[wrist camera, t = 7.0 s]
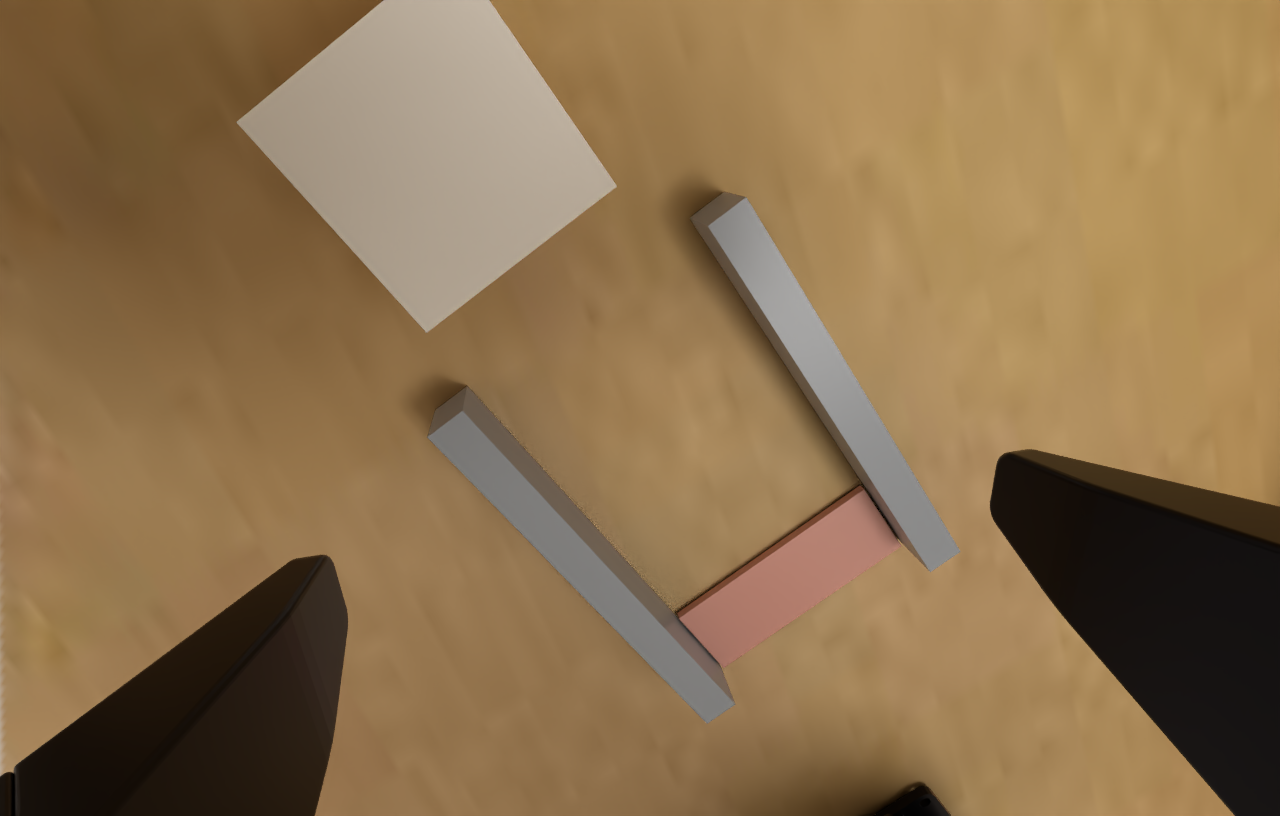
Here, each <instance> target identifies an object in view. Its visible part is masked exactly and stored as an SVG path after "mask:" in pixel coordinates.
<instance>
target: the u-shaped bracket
mask: <svg viewBox="0 0 1280 816" xmlns="http://www.w3.org/2000/svg"><path fill="white" fill-rule="evenodd" d="M690 220H691V221H692V223H693V224H694V226H695V227H696V229H697V230H698V232H699V233H700V235H701V236H702V238H703V240H704V241H705V243H706V244H707V246H708V247H709V249H710V250H711V252H712V253H713V255H714V256H715V258H716V259H717V261H718V263H719V264H720V266H721V267H722V269H723V270H724V272H725V273H726V275H727V276H728V278H729V279H730V281H731V282H732V284H733V286H734V287H735V289H736V290H737V292H738V293H739V295H740V296H741V298H742V299H743V301H744V302H745V304H746V306H747V307H748V309H749V310H750V312H751V313H752V315H753V316H754V318H755V319H756V321H757V322H758V324H759V325H760V327H761V329H762V330H763V332H764V333H765V335H766V336H767V338H768V339H769V341H770V342H771V344H772V345H773V347H774V348H775V350H776V352H777V353H778V355H779V356H780V358H781V359H782V361H783V362H784V364H785V365H786V367H787V368H788V370H789V371H790V373H791V375H792V376H793V378H794V379H795V381H796V382H797V384H798V385H799V387H800V388H801V390H802V391H803V393H804V394H805V396H806V398H807V399H808V401H809V402H810V404H811V405H812V407H813V408H814V410H815V411H816V413H817V414H818V416H819V418H820V419H821V421H822V422H823V424H824V425H825V427H826V428H827V430H828V431H829V433H830V434H831V436H832V437H833V439H834V441H835V442H836V444H837V445H838V447H839V448H840V450H841V451H842V453H843V454H844V456H845V457H846V459H847V460H848V462H849V464H850V465H851V467H852V468H853V470H854V471H855V473H856V474H857V476H858V477H859V479H860V480H861V482H862V483H863V485H864V487H865V488H866V490H867V491H868V493H869V494H870V496H871V497H872V499H873V500H874V502H875V503H876V505H877V506H878V508H879V510H880V511H881V513H882V514H883V516H884V517H885V519H886V520H887V522H888V523H889V525H890V526H891V528H892V530H893V531H894V533H895V534H896V536H897V537H898V539H899V540H900V541H901V542H902V543H903V544H904V545H905V546H906V547H907V548H908V550H909V551H910V552H911V553H912V554H913V555H914V556H915V557H916V558H917V559H918V560H919V561H920V562H921V563H922V564H923V565H924V566H925V567H926V568H927V569H928V570H929V571H930V572H931V571H933V570H934V569H936V568H937V567H939V566H940V565H941V564H943V563H944V562H946V561H947V560H949V559H950V558H952V557H953V556H955V555H956V554H958V553H959V552H960V550H959V548H958V547H957V545H956V543H955V542H954V540H953V538H952V537H951V535H950V533H949V532H948V530H947V528H946V527H945V525H944V523H943V522H942V520H941V519H940V517H939V515H938V514H937V512H936V510H935V509H934V507H933V505H932V504H931V502H930V500H929V499H928V497H927V495H926V494H925V492H924V490H923V489H922V487H921V485H920V484H919V482H918V480H917V479H916V477H915V476H914V474H913V472H912V471H911V469H910V467H909V466H908V464H907V462H906V461H905V459H904V457H903V456H902V454H901V452H900V451H899V449H898V447H897V446H896V444H895V442H894V441H893V439H892V437H891V436H890V434H889V432H888V431H887V429H886V428H885V426H884V424H883V423H882V421H881V419H880V418H879V416H878V414H877V413H876V411H875V409H874V408H873V406H872V404H871V403H870V401H869V399H868V398H867V396H866V394H865V393H864V391H863V389H862V388H861V386H860V384H859V383H858V381H857V380H856V378H855V376H854V375H853V373H852V371H851V370H850V368H849V366H848V365H847V363H846V361H845V360H844V358H843V356H842V355H841V353H840V351H839V350H838V348H837V346H836V345H835V343H834V341H833V340H832V338H831V337H830V335H829V333H828V332H827V330H826V328H825V327H824V325H823V323H822V322H821V320H820V318H819V317H818V315H817V313H816V312H815V310H814V308H813V307H812V305H811V303H810V302H809V300H808V298H807V297H806V295H805V293H804V292H803V290H802V289H801V287H800V285H799V284H798V282H797V280H796V279H795V277H794V275H793V274H792V272H791V270H790V269H789V267H788V265H787V264H786V262H785V260H784V259H783V257H782V255H781V254H780V252H779V250H778V249H777V247H776V245H775V244H774V242H773V241H772V239H771V237H770V236H769V234H768V232H767V231H766V229H765V227H764V226H763V224H762V222H761V221H760V219H759V217H758V216H757V214H756V212H755V211H754V209H753V207H752V206H751V204H750V202H749V201H748V199H747V198H746V197H743V196H739V195H735V194H731V193H727V192H723V193H722V194H720V195H719V196H718V197H716V198H715V199H714V200H712V201H711V202H710V203H709V204H707V205H706V206H705V207H703V208H702V209H701V210H699V211H698V212H697V213H695V214H694V215H693V216H691V217H690ZM427 438H428V439H429V440H430V441H431V442H432V443H433V444H434V445H435V446H436V447H437V448H438V449H439V450H440V451H441V452H442V453H443V454H444V455H445V456H446V457H447V458H448V459H449V460H450V461H451V462H452V463H453V464H454V465H455V466H456V467H457V468H458V469H459V470H460V471H461V472H462V473H463V474H464V475H465V476H466V477H467V478H468V480H469V481H470V482H471V483H472V484H473V485H474V486H475V487H476V488H477V489H478V490H479V491H480V492H481V493H482V494H483V495H484V496H485V497H486V498H487V499H488V500H489V501H490V502H491V503H492V504H493V505H494V506H495V507H496V508H497V509H498V510H499V511H500V512H501V513H502V514H503V515H504V516H505V517H506V518H507V519H508V520H509V521H510V522H511V524H512V525H513V526H514V527H515V528H516V529H517V530H518V531H519V532H520V533H521V534H522V535H523V536H524V537H525V538H526V539H527V540H528V541H529V542H530V543H531V544H532V545H533V546H534V547H535V548H536V549H537V550H538V551H539V552H540V553H541V554H542V555H543V556H544V557H545V558H546V559H547V560H548V561H549V562H550V563H551V564H552V565H553V566H554V568H555V569H556V570H557V571H558V572H559V573H560V574H561V575H562V576H563V577H564V578H565V579H566V580H567V581H568V582H569V583H570V584H571V585H572V586H573V587H574V588H575V589H576V590H577V591H578V592H579V593H580V594H581V595H582V596H583V597H584V598H585V599H586V600H587V601H588V602H589V603H590V604H591V605H592V606H593V607H594V608H595V609H596V610H597V612H598V613H599V614H600V615H601V616H602V617H603V618H604V619H605V620H606V621H607V622H608V623H609V624H610V625H611V626H612V627H613V628H614V629H615V630H616V631H617V632H618V633H619V634H620V635H621V636H622V637H623V638H624V639H625V640H626V641H627V642H628V643H629V644H630V645H631V646H632V647H633V648H634V649H635V650H636V651H637V652H638V653H639V654H640V656H641V657H642V658H643V659H644V660H645V661H646V662H647V663H648V664H649V665H650V666H651V667H652V668H653V669H654V670H655V671H656V672H657V673H658V674H659V675H660V676H661V677H662V678H663V679H664V680H665V681H666V682H667V683H668V684H669V685H670V686H671V687H672V688H673V689H674V690H675V691H676V692H677V693H678V694H679V695H680V696H681V697H682V698H683V700H684V701H685V702H686V703H687V704H688V705H689V706H690V707H691V708H692V709H693V710H694V711H695V712H696V713H697V714H698V715H699V716H700V717H701V718H702V719H703V720H704V721H705V722H706V723H709V722H710V721H712V720H713V719H715V718H716V717H718V716H719V715H721V714H722V713H723V712H725V711H726V710H728V709H729V708H731V707H732V706H734V705H735V702H734V700H733V697H732V695H731V692H730V689H729V687H728V684H727V682H726V679H725V677H724V674H723V672H722V669H721V667H720V664H721V665H722V666H723V668H724V667H726V666H727V665H729V664H730V663H732V662H733V661H735V660H736V659H737V658H739V657H740V656H742V655H743V654H745V653H746V652H748V651H749V650H751V649H752V648H754V647H755V646H756V645H758V644H759V643H761V642H762V641H764V640H765V639H767V638H768V637H770V636H771V635H772V634H774V633H775V632H777V631H778V630H780V629H781V628H783V627H784V626H786V625H787V624H789V623H790V622H791V621H793V620H794V619H796V618H797V617H799V616H800V615H802V614H803V613H805V612H806V611H807V610H809V609H810V608H812V607H813V606H815V605H816V604H818V603H819V602H821V601H822V600H824V599H825V598H826V597H828V596H829V595H831V594H832V593H834V592H835V591H837V590H838V589H840V588H841V587H842V586H844V585H845V584H847V583H848V582H850V581H851V580H853V579H854V578H856V577H857V576H859V575H860V574H861V573H863V572H864V571H866V570H867V569H869V568H870V567H872V566H873V565H875V564H876V563H878V562H879V561H880V560H882V559H883V558H885V557H886V556H888V555H889V554H891V553H892V552H894V551H895V550H896V549H898V548H899V547H901V545H900V543H899V542H898V540H897V539H896V537H895V536H894V534H893V533H892V531H891V530H890V528H889V526H888V525H887V523H886V522H885V520H884V519H883V517H882V516H881V514H880V513H879V511H878V510H877V508H876V507H875V505H874V504H873V502H872V500H871V499H870V497H869V496H868V494H867V493H866V491H865V490H864V489H863V488H862V487H861V486H858V487H857V488H855V489H854V490H853V491H851V492H850V493H848V494H847V495H845V496H844V497H843V498H841V499H840V500H838V501H837V502H835V503H834V504H833V505H831V506H830V507H828V508H827V509H825V510H824V511H823V512H821V513H820V514H818V515H817V516H815V517H814V518H812V519H811V520H810V521H808V522H807V523H805V524H804V525H802V526H801V527H800V528H798V529H797V530H795V531H794V532H792V533H791V534H790V535H788V536H787V537H785V538H784V539H782V540H781V541H780V542H778V543H777V544H775V545H774V546H772V547H771V548H770V549H768V550H767V551H765V552H764V553H762V554H761V555H760V556H758V557H757V558H755V559H754V560H752V561H751V562H749V563H748V564H747V565H745V566H744V567H742V568H741V569H739V570H738V571H737V572H735V573H734V574H732V575H731V576H729V577H728V578H727V579H725V580H724V581H722V582H721V583H719V584H718V585H717V586H715V587H714V588H712V589H711V590H709V591H708V592H707V593H705V594H704V595H702V596H701V597H699V598H698V599H697V600H695V601H694V602H692V603H691V604H689V605H688V606H686V607H685V608H684V609H682V610H681V611H679V612H678V613H677V614H678V617H679V619H680V620H681V621H682V622H683V623H684V624H683V623H682V622H681V621H680V620H679V619H678V618H677V616H676V615H675V614H674V613H673V612H672V611H671V610H670V609H669V608H668V607H667V605H666V604H665V603H664V602H663V601H662V600H661V599H660V598H659V597H658V595H657V594H656V593H655V592H654V591H653V590H652V589H651V588H650V587H649V586H648V584H647V583H646V582H645V581H644V580H643V579H642V578H641V577H640V576H639V575H638V573H637V572H636V571H635V570H634V569H633V568H632V567H631V566H630V565H629V564H628V562H627V561H626V560H625V559H624V558H623V557H622V556H621V555H620V554H619V553H618V551H617V550H616V549H615V548H614V547H613V546H612V545H611V544H610V543H609V542H608V540H607V539H606V538H605V537H604V536H603V535H602V534H601V533H600V532H599V530H598V529H597V528H596V527H595V526H594V525H593V524H592V523H591V522H590V521H589V519H588V518H587V517H586V516H585V515H584V514H583V513H582V512H581V511H580V510H579V508H578V507H577V506H576V505H575V504H574V503H573V502H572V501H571V500H570V499H569V497H568V496H567V495H566V494H565V493H564V492H563V491H562V490H561V489H560V488H559V486H558V485H557V484H556V483H555V482H554V481H553V480H552V479H551V478H550V477H549V475H548V474H547V473H546V472H545V471H544V470H543V469H542V468H541V467H540V465H539V464H538V463H537V462H536V461H535V460H534V459H533V458H532V457H531V456H530V454H529V453H528V452H527V451H526V450H525V449H524V448H523V447H522V446H521V445H520V443H519V442H518V441H517V440H516V439H515V438H514V437H513V436H512V435H511V434H510V432H509V431H508V430H507V429H506V428H505V427H504V426H503V425H502V424H501V423H500V421H499V420H498V419H497V418H496V417H495V416H494V415H493V414H492V413H491V412H490V410H489V409H488V408H487V407H486V406H485V405H484V404H483V403H482V402H481V400H480V399H479V398H478V397H477V396H476V395H475V394H474V393H473V392H472V391H471V389H470V388H469V387H468V386H466V387H465V388H464V389H462V390H461V391H460V392H458V393H457V394H456V395H454V396H453V397H452V398H450V399H449V400H448V401H447V402H445V403H444V404H443V405H441V406H440V407H439V408H437V409H436V410H435V412H434V416H433V419H432V423H431V426H430V430H429V433H428V436H427ZM687 628H688V629H689V630H690V631H691V632H692V633H693V634H694V635H693V634H692V633H691V632H690V631H689V630H688V629H687ZM697 639H698V640H699V641H700V642H701V643H702V644H703V645H704V646H703V645H702V644H701V643H700V642H699V641H698V640H697ZM707 650H708V651H709V652H710V653H711V654H712V655H713V656H714V657H713V656H712V655H711V654H710V653H709V652H708V651H707ZM717 661H718V662H719V663H720V664H719V663H718V662H717Z"/></svg>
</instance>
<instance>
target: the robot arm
mask: <svg viewBox="0 0 1280 816" xmlns="http://www.w3.org/2000/svg"><path fill="white" fill-rule="evenodd" d="M990 511H991V515H992V517H993V520H994V522H995V523H996V525H997V526H998V528H999V529H1000V530H1001V532H1002V533H1003V535H1004V536H1005V537H1006V539H1007V540H1008V542H1009V543H1010V544H1011V546H1012V547H1013V549H1014V550H1015V551H1016V553H1017V554H1018V556H1019V557H1020V558H1021V560H1022V561H1023V563H1024V564H1025V566H1026V567H1027V568H1028V570H1029V571H1030V573H1031V574H1032V575H1033V577H1034V578H1035V580H1036V581H1037V582H1038V584H1039V585H1040V587H1041V588H1042V589H1043V591H1044V592H1045V594H1046V595H1047V596H1048V598H1049V599H1050V600H1051V602H1052V603H1053V604H1054V606H1055V607H1056V608H1057V610H1058V611H1059V612H1060V613H1061V614H1062V616H1063V617H1064V618H1065V619H1066V620H1067V622H1068V623H1069V624H1070V625H1071V626H1072V627H1073V629H1074V630H1075V631H1076V632H1077V633H1078V634H1079V636H1080V637H1081V638H1082V639H1083V640H1084V641H1085V643H1086V644H1087V645H1088V646H1089V647H1090V648H1091V650H1092V651H1093V652H1094V653H1095V654H1096V655H1097V656H1098V658H1099V659H1100V660H1101V661H1102V662H1103V663H1104V665H1105V666H1106V667H1107V668H1108V669H1109V670H1110V672H1111V673H1112V674H1113V675H1114V676H1115V677H1116V678H1117V680H1118V681H1119V682H1120V683H1121V684H1122V685H1123V687H1124V688H1125V689H1126V690H1127V691H1128V692H1129V694H1130V695H1131V696H1132V697H1133V698H1134V699H1135V701H1136V702H1137V703H1138V704H1139V705H1140V706H1141V707H1142V709H1143V710H1144V711H1145V712H1146V713H1147V714H1148V716H1149V717H1150V718H1151V719H1152V720H1153V721H1154V723H1155V724H1156V725H1157V726H1158V727H1159V728H1160V729H1161V731H1162V732H1163V733H1164V734H1165V735H1166V736H1167V738H1168V739H1169V740H1170V741H1171V742H1172V743H1173V745H1174V746H1175V747H1176V748H1177V749H1178V750H1179V752H1180V753H1181V754H1182V755H1183V756H1184V757H1185V758H1186V760H1187V761H1188V762H1189V763H1190V764H1191V765H1192V767H1193V768H1194V769H1195V770H1196V771H1197V772H1198V774H1199V775H1200V776H1201V777H1202V778H1203V779H1204V781H1205V782H1206V783H1207V784H1208V785H1209V786H1210V787H1211V789H1212V790H1213V791H1214V792H1215V793H1216V794H1217V796H1218V797H1219V798H1220V799H1221V800H1222V801H1223V803H1224V804H1225V805H1226V806H1227V807H1228V808H1229V809H1230V811H1231V812H1232V813H1233V814H1234V815H1235V816H1280V507H1279V506H1275V505H1270V504H1266V503H1262V502H1257V501H1253V500H1249V499H1244V498H1240V497H1236V496H1231V495H1227V494H1223V493H1219V492H1214V491H1210V490H1206V489H1201V488H1197V487H1193V486H1188V485H1184V484H1180V483H1175V482H1171V481H1167V480H1163V479H1158V478H1154V477H1150V476H1145V475H1141V474H1137V473H1132V472H1128V471H1124V470H1119V469H1115V468H1111V467H1107V466H1102V465H1098V464H1094V463H1089V462H1085V461H1081V460H1076V459H1072V458H1068V457H1063V456H1059V455H1055V454H1051V453H1046V452H1042V451H1038V450H1032V449H1026V450H1020V451H1013V452H1008V453H1004V454H1003V455H1002V456H1001V457H1000V458H999V459H998V461H997V465H996V470H995V476H994V482H993V488H992V494H991V500H990ZM347 630H348V614H347V608H346V604H345V601H344V597H343V594H342V591H341V587H340V584H339V580H338V577H337V573H336V570H335V566H334V563H333V562H332V560H331V558H330V557H328V556H327V555H317V556H310V557H303V558H296V559H293V560H291V561H290V562H288V563H287V564H286V565H284V566H283V567H281V568H280V569H279V570H277V571H276V572H275V573H273V574H272V575H271V576H269V577H268V578H267V579H265V580H264V581H263V582H261V583H260V584H259V585H257V586H256V587H255V588H253V589H252V590H251V591H249V592H248V593H247V594H245V595H244V596H243V597H241V598H240V599H238V600H237V601H236V602H234V603H233V604H232V605H230V606H229V607H228V608H226V609H225V610H224V611H222V612H221V613H220V614H218V615H217V616H216V617H214V618H213V619H212V620H210V621H209V622H208V623H206V624H205V625H204V626H202V627H201V628H200V629H198V630H197V631H195V632H194V633H193V634H191V635H190V636H189V637H187V638H186V639H185V640H183V641H182V642H181V643H179V644H178V645H177V646H175V647H174V648H173V649H171V650H170V651H169V652H167V653H166V654H165V655H163V656H162V657H161V658H159V659H158V660H157V661H155V662H154V663H152V664H151V665H150V666H148V667H147V668H146V669H144V670H143V671H142V672H140V673H139V674H138V675H136V676H135V677H134V678H132V679H131V680H130V681H128V682H127V683H126V684H124V685H123V686H122V687H120V688H119V689H118V690H116V691H115V692H113V693H112V694H111V695H109V696H108V697H107V698H105V699H104V700H103V701H101V702H100V703H99V704H97V705H96V706H95V707H93V708H92V709H91V710H89V711H88V712H87V713H85V714H84V715H83V716H81V717H80V718H79V719H77V720H76V721H75V722H73V723H72V724H70V725H69V726H68V727H66V728H65V729H64V730H62V731H61V732H60V733H58V734H57V735H56V736H54V737H53V738H52V739H50V740H49V741H48V742H46V743H45V744H44V745H42V746H41V747H40V748H38V749H37V750H36V751H34V752H33V753H32V754H30V755H29V756H27V757H26V758H25V759H23V760H22V761H21V762H19V763H18V764H17V765H16V766H15V767H14V773H12V772H7V773H4V774H3V775H2V776H0V816H315V813H316V809H317V805H318V801H319V797H320V793H321V789H322V785H323V781H324V777H325V773H326V769H327V765H328V761H329V756H330V752H331V747H332V743H333V737H334V730H335V724H336V716H337V708H338V700H339V693H340V685H341V677H342V669H343V661H344V654H345V646H346V638H347ZM874 816H951V814H950V813H949V812H948V811H947V809H946V808H945V807H944V806H943V804H942V803H941V802H940V801H939V799H938V798H937V797H936V796H935V794H934V793H933V792H932V791H931V789H930V788H929V787H927V786H921V787H918V788H916V789H914V790H913V791H911V792H909V793H908V794H906V795H905V796H903V797H902V798H900V799H899V800H897V801H896V802H894V803H893V804H891V805H889V806H888V807H886V808H885V809H883V810H882V811H880V812H879V813H877V814H876V815H874Z"/></svg>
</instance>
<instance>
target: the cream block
mask: <svg viewBox="0 0 1280 816" xmlns="http://www.w3.org/2000/svg"><path fill="white" fill-rule="evenodd" d="M236 123H237V124H238V125H239V126H240V127H241V128H242V129H243V130H244V131H245V132H246V134H247V135H248V136H249V137H250V138H251V139H252V140H253V141H254V142H255V144H256V145H257V146H258V147H259V148H260V149H261V150H262V151H263V152H264V153H265V155H266V156H267V157H268V158H269V159H270V160H271V161H272V162H273V163H274V165H275V166H276V167H277V168H278V169H279V170H280V171H281V172H282V173H283V175H284V176H285V177H286V178H287V179H288V180H289V181H290V182H291V183H292V184H293V186H294V187H295V188H296V189H297V190H298V191H299V192H300V193H301V194H302V196H303V197H304V198H305V199H306V200H307V201H308V202H309V203H310V204H311V205H312V207H313V208H314V209H315V210H316V211H317V212H318V213H319V214H320V215H321V217H322V218H323V219H324V220H325V221H326V222H327V223H328V224H329V225H330V226H331V228H332V229H333V230H334V231H335V232H336V233H337V234H338V235H339V236H340V238H341V239H342V240H343V241H344V242H345V243H346V244H347V245H348V246H349V248H350V249H351V250H352V251H353V252H354V253H355V254H356V255H357V256H358V257H359V259H360V260H361V261H362V262H363V263H364V264H365V265H366V266H367V267H368V269H369V270H370V271H371V272H372V273H373V274H374V275H375V276H376V277H377V278H378V280H379V281H380V282H381V283H382V284H383V285H384V286H385V287H386V288H387V290H388V291H389V292H390V293H391V294H392V295H393V296H394V297H395V298H396V300H397V301H398V302H399V303H400V304H401V305H402V306H403V307H404V308H405V309H406V311H407V312H408V313H409V314H410V315H411V316H412V317H413V318H414V319H415V321H416V322H417V323H418V324H419V325H420V326H421V327H422V328H423V329H424V330H425V332H426V333H427V332H428V331H430V330H431V329H432V328H434V327H435V326H436V325H437V324H439V323H440V322H441V321H443V320H444V319H445V318H447V317H448V316H449V315H450V314H452V313H453V312H454V311H456V310H457V309H458V308H460V307H461V306H462V305H463V304H465V303H466V302H467V301H469V300H470V299H471V298H473V297H474V296H475V295H476V294H478V293H479V292H480V291H482V290H483V289H484V288H486V287H487V286H488V285H489V284H491V283H492V282H493V281H495V280H496V279H497V278H499V277H500V276H501V275H502V274H504V273H505V272H506V271H508V270H509V269H510V268H512V267H513V266H514V265H515V264H517V263H518V262H519V261H521V260H522V259H523V258H525V257H526V256H527V255H528V254H530V253H531V252H532V251H534V250H535V249H536V248H538V247H539V246H540V245H541V244H543V243H544V242H545V241H547V240H548V239H549V238H550V237H552V236H553V235H554V234H556V233H557V232H558V231H560V230H561V229H562V228H563V227H565V226H566V225H567V224H569V223H570V222H571V221H573V220H574V219H575V218H576V217H578V216H579V215H580V214H582V213H583V212H584V211H586V210H587V209H588V208H589V207H591V206H592V205H593V204H595V203H596V202H597V201H599V200H600V199H601V198H602V197H604V196H605V195H606V194H608V193H609V192H610V191H612V190H613V189H614V188H615V187H617V185H616V184H615V182H614V181H613V180H612V178H611V177H610V175H609V174H608V172H607V171H606V169H605V168H604V166H603V165H602V164H601V162H600V161H599V159H598V158H597V156H596V155H595V153H594V152H593V150H592V149H591V148H590V146H589V145H588V143H587V142H586V140H585V139H584V137H583V136H582V134H581V133H580V132H579V130H578V129H577V127H576V126H575V124H574V123H573V121H572V120H571V118H570V117H569V116H568V114H567V113H566V111H565V110H564V108H563V107H562V105H561V104H560V102H559V101H558V100H557V98H556V97H555V95H554V94H553V92H552V91H551V89H550V88H549V86H548V85H547V83H546V82H545V81H544V79H543V78H542V76H541V75H540V73H539V72H538V70H537V69H536V67H535V66H534V65H533V63H532V62H531V60H530V59H529V57H528V56H527V54H526V53H525V51H524V50H523V49H522V47H521V46H520V44H519V43H518V41H517V40H516V38H515V37H514V35H513V34H512V33H511V31H510V30H509V28H508V27H507V25H506V24H505V22H504V21H503V19H502V18H501V17H500V15H499V14H498V12H497V11H496V9H495V8H494V6H493V5H492V3H491V2H490V1H489V0H383V1H382V2H381V3H380V4H379V5H377V6H376V7H375V8H374V9H373V10H371V11H370V12H369V13H368V14H366V15H365V16H364V17H363V18H362V19H360V20H359V21H358V22H357V23H356V24H354V25H353V26H352V27H351V28H350V29H348V30H347V31H346V32H345V33H343V34H342V35H341V36H340V37H339V38H337V39H336V40H335V41H334V42H333V43H331V44H330V45H329V46H328V47H327V48H325V49H324V50H323V51H322V52H320V53H319V54H318V55H317V56H316V57H314V58H313V59H312V60H311V61H310V62H308V63H307V64H306V65H305V66H304V67H302V68H301V69H300V70H299V71H297V72H296V73H295V74H294V75H293V76H291V77H290V78H289V79H288V80H287V81H285V82H284V83H283V84H282V85H281V86H279V87H278V88H277V89H276V90H274V91H273V92H272V93H271V94H270V95H268V96H267V97H266V98H265V99H264V100H262V101H261V102H260V103H259V104H258V105H256V106H255V107H254V108H253V109H252V110H250V111H249V112H248V113H247V114H245V115H244V116H243V117H242V118H241V119H239V120H238V121H237V122H236Z"/></svg>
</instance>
